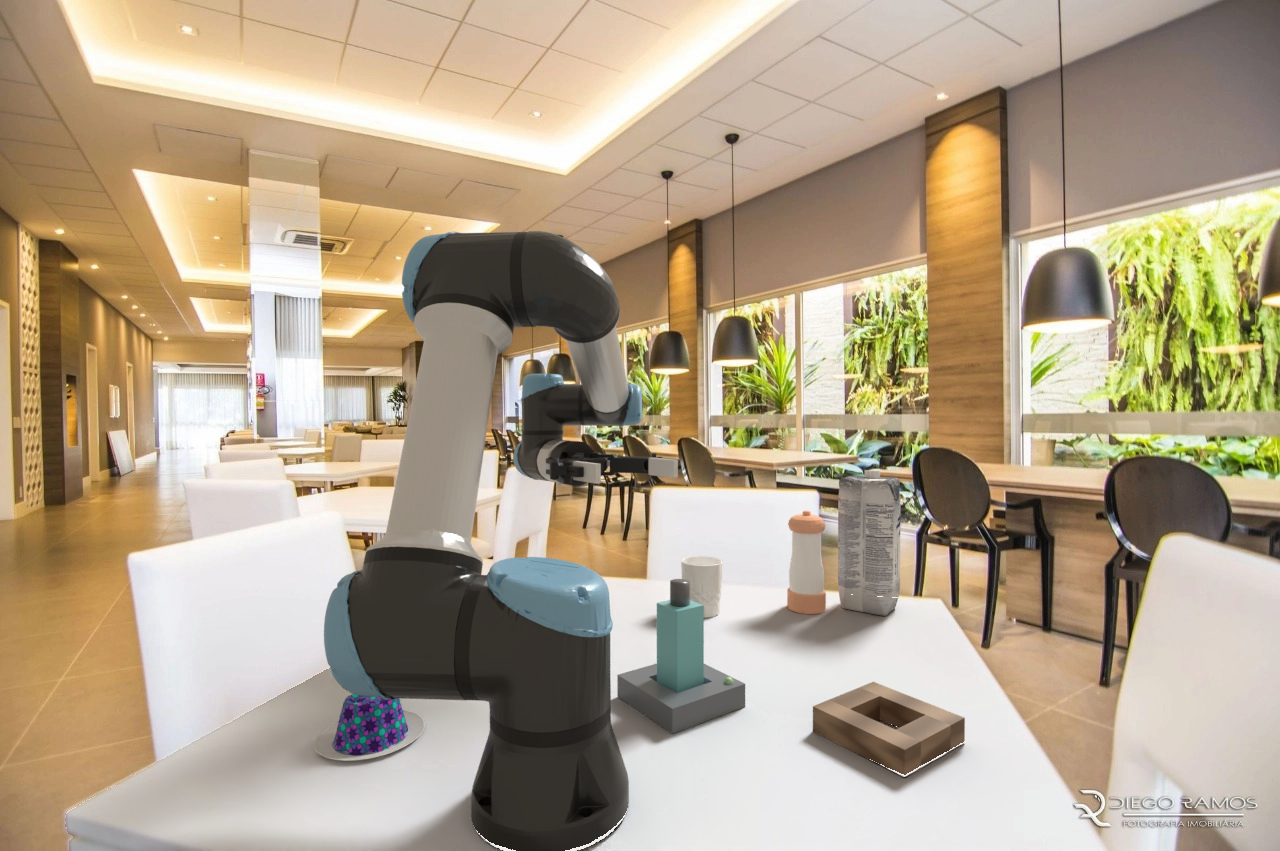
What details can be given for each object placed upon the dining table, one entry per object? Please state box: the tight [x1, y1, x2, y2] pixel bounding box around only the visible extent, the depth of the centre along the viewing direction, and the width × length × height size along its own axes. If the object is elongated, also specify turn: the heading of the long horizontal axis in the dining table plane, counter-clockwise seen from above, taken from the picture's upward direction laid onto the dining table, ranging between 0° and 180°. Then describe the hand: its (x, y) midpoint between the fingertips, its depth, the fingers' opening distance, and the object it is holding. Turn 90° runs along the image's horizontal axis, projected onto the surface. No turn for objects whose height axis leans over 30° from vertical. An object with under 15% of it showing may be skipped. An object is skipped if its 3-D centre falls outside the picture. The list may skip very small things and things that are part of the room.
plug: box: [656, 578, 705, 693], centre depth 83 cm, size 4×4×16 cm
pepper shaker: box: [786, 510, 827, 615], centre depth 123 cm, size 7×7×19 cm
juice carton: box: [837, 469, 901, 617], centre depth 123 cm, size 9×10×27 cm
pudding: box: [313, 693, 426, 762], centre depth 74 cm, size 12×12×5 cm
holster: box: [812, 681, 966, 775], centre depth 74 cm, size 12×12×3 cm
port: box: [616, 663, 746, 734], centre depth 83 cm, size 12×12×4 cm
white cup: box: [680, 555, 723, 619], centre depth 121 cm, size 8×8×10 cm
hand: (639, 471), depth 90 cm, fingers open, 13 cm apart
